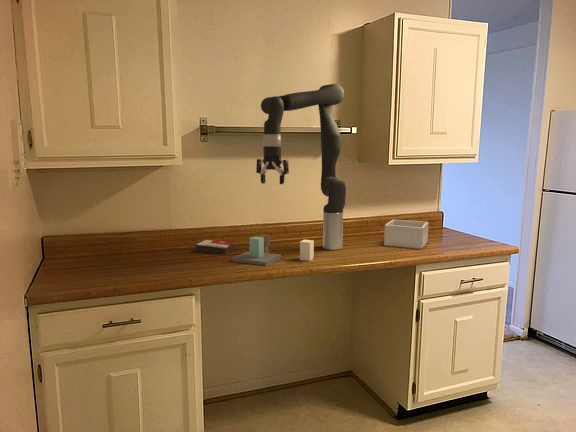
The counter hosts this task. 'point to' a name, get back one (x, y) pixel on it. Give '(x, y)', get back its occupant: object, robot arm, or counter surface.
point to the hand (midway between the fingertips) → (272, 183)
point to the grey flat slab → (262, 260)
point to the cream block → (306, 250)
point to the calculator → (214, 247)
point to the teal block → (256, 247)
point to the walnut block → (266, 243)
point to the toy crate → (406, 234)
